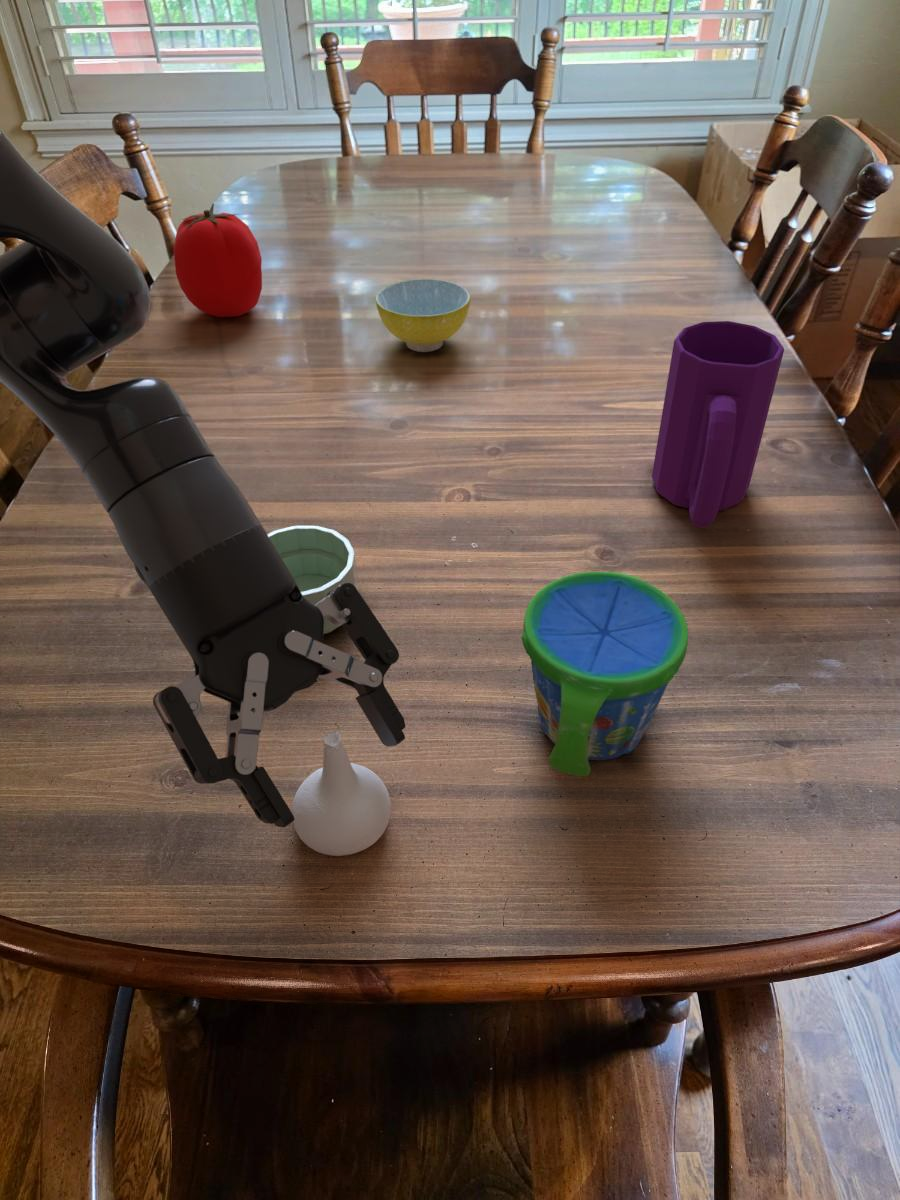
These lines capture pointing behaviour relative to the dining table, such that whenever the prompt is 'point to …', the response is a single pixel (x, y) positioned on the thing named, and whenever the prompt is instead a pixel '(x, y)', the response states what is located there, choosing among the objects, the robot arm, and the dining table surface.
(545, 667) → the snack cup
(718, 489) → the mug
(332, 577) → the dish
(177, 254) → the tomato
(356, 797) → the garlic bulb
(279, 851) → the dining table surface
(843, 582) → the dining table surface
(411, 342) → the bowl
